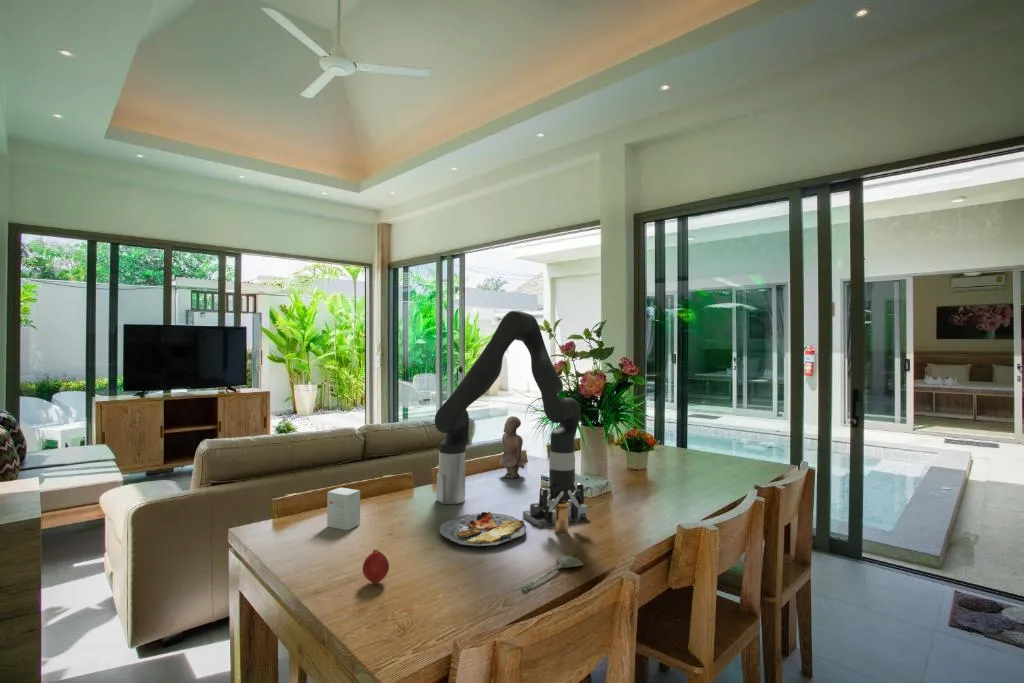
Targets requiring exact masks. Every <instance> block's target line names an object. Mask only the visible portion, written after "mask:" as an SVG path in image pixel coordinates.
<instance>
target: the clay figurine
mask: <svg viewBox="0 0 1024 683" xmlns="http://www.w3.org/2000/svg"><path fill="white" fill-rule="evenodd" d="M521 424H522V422H521V420H520V418H519V417H517V416H509V417H507V419H506V420H505V423H504V427H503V428H504V429H503V434H502V437H501V438H502V450H503V453H502V456H501V458H500V459H499V461H498V463H499V465H501V466H502V467H505V469H506V473H505V475H504V476H509V477H510V478H509V479H516V478H519V477H520V476H521V475H520V474H519V473H518V472H519V469H520V468H521V469H524V468H525V464H524V461H523V458H522V448H523V444H524V443H523V442H524V440H523V438H522V436H520V434H519V435H518V433H517V429H519V428H520V427H521ZM515 477H516V478H515Z"/></svg>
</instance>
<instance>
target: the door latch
mask: <svg viewBox="0 0 1024 683" xmlns="http://www.w3.org/2000/svg"><path fill="white" fill-rule="evenodd" d="M573 495H574V497H575V498H576V491H574V492H573ZM553 500H554V499H553ZM553 500H552V501H553ZM571 506H572V505H570V506H569V508H568V523H572V522H571V521H573V522H577V521H576V520H573V519H571ZM552 512H553V516H552V524H551V525H552V526H555V506H554V508H553V510H552ZM587 513H589V506H588V505H586V504H581V505H579V507H578V517H577V520H579V521H580V520H581V519H580V518H583V519H587ZM522 518H523V519H524V518H525V520H526V521H528V522H530V523H531V524H532V523H533V524H532V525H534V526H535V525H536V526H535V527H537V526H538V527H537V528H539V527H541V528H545V527H544V526H546V527H550V526H549V524H548V523H547V522H546V521H545V511H544V510H542V509H540V508H539V502H534V503H530V505H529V510H523V511H522Z"/></svg>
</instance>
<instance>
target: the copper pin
mask: <svg viewBox="0 0 1024 683" xmlns="http://www.w3.org/2000/svg"><path fill="white" fill-rule="evenodd" d="M553 501H554V499H553ZM570 505H571V502H570V501H569V500H568V501H563V502H558V503H557V505H556V506H555V525H554V534H556V533H558V534H566V535H568V534H569V522H568V508H569V506H570ZM567 533H568V534H567ZM558 534H557V535H558Z"/></svg>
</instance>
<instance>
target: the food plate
mask: <svg viewBox="0 0 1024 683" xmlns="http://www.w3.org/2000/svg"><path fill="white" fill-rule="evenodd" d="M462 525H463V526H466V527H468V528H467V529H468V530H465V531H464V530H460V529H461V527H463V526H462ZM526 528H527V525H526V524H525V521H524V520H523V519H521V520H520V519H518V518H516V517H514V516H511V515H509V514H508V515H507V514H504V513H503V514H502V513H501V514H500V513H494V512H490V511H488V512H487V511H481V513H475V514H474V513H473V514H466V515H463V516H462V515H461V516H459V517H456V518H452V519H450V520H447V521H445V522H442V523H441V524H440V527H439V533H440V535H441V536H443V537H444V538H446V539H447V540H449V541H452V542H454V543H457V544H459V545H464V546H465V545H466V546H471V547H473V546H474V547H475V548H479V547H480V546H482V547H483V546H497V545H500V544H503V543H505V542H509V541H512V540H514V539H517V538H519V537H522V536H523V535H525V534H526V532H527V531H526V530H527V529H526ZM458 530H459V531H461V532H459V533H458V532H457V531H458ZM490 530H491V531H490ZM454 533H456V535H455V534H454ZM482 533H483V534H482ZM480 534H481V535H480ZM471 537H472V539H471ZM473 537H475V538H473ZM468 538H469V539H468ZM460 539H462V540H460ZM464 539H466V540H465V541H464ZM463 541H464V542H463Z"/></svg>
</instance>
